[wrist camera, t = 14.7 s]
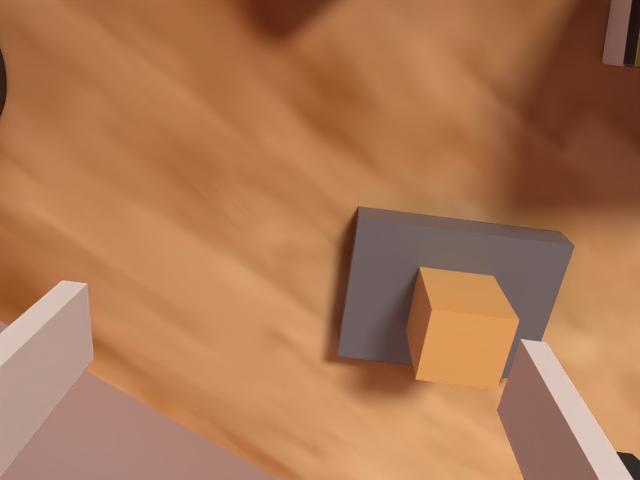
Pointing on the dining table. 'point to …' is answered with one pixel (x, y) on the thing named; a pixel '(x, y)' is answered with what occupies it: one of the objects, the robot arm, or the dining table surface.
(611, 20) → the tea box
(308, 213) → the dining table surface
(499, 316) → the orange toy cube
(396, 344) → the dark gray slab
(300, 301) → the dining table surface
